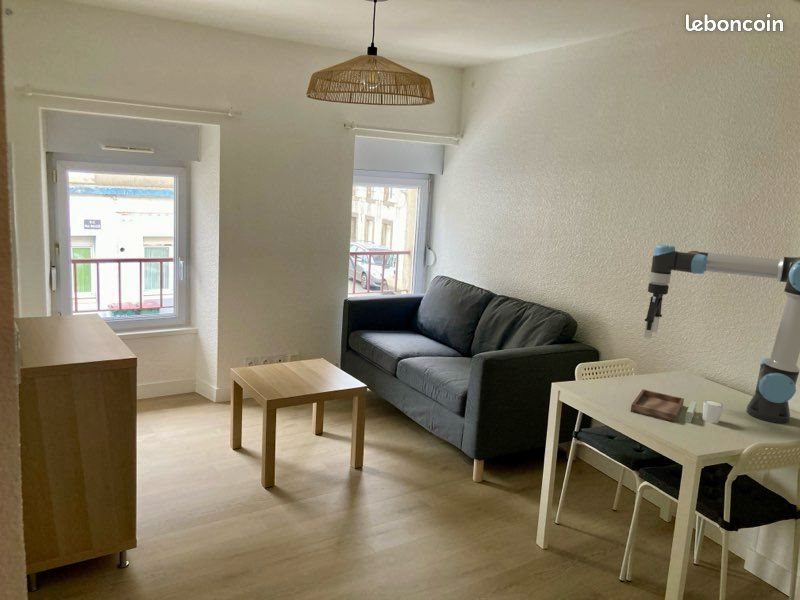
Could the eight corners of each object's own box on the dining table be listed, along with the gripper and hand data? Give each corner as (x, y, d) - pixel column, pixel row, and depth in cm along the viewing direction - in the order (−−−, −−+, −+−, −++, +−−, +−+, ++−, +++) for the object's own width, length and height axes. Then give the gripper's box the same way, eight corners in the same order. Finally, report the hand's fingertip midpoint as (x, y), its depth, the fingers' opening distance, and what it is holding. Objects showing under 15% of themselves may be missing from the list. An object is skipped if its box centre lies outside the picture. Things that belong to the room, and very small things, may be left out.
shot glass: (722, 425, 241) (725, 407, 240) (702, 422, 242) (706, 404, 241) (717, 418, 248) (720, 401, 246) (698, 416, 249) (701, 398, 248)
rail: (695, 411, 254) (696, 401, 253) (690, 423, 240) (692, 412, 239) (689, 410, 255) (691, 400, 254) (684, 421, 241) (686, 411, 240)
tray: (682, 405, 260) (684, 398, 259) (674, 422, 239) (676, 414, 239) (641, 396, 267) (642, 389, 267) (630, 411, 247) (631, 404, 246)
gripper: (654, 279, 270) (646, 328, 274) (643, 285, 249) (635, 338, 253) (673, 281, 266) (665, 331, 270) (664, 288, 245) (655, 342, 249)
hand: (650, 334), depth 261 cm, fingers open, 13 cm apart
